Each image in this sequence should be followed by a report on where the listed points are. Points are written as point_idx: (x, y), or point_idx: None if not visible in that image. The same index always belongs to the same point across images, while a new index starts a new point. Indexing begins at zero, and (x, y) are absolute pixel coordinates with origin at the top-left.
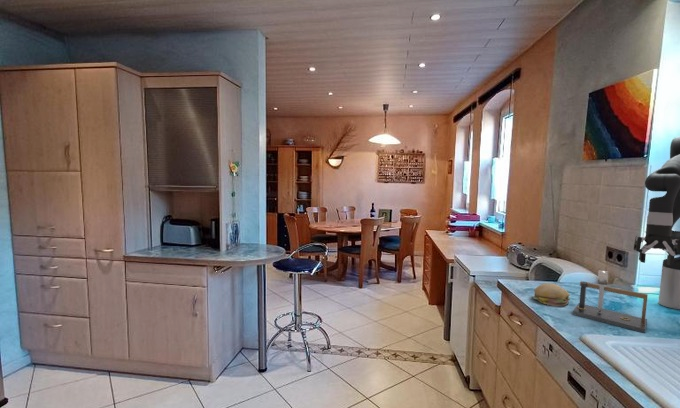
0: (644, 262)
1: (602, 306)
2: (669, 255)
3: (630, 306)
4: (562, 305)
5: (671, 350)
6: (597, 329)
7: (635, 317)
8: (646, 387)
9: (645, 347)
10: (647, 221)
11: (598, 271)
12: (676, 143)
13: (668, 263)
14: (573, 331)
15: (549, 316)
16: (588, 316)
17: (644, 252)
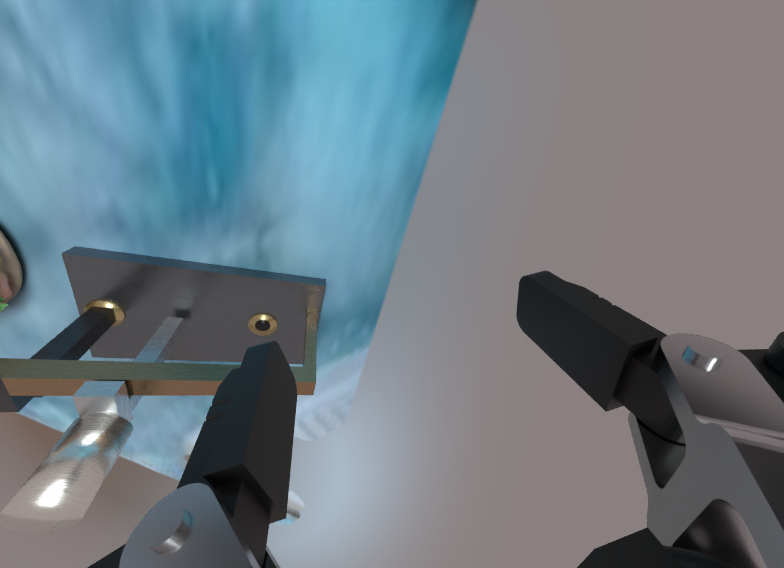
0: (293, 386)
1: (175, 334)
2: (627, 376)
3: (283, 85)
4: (15, 294)
5: (347, 402)
6: (205, 401)
7: (292, 292)
8: (294, 505)
9: (304, 419)
10: None
11: (9, 521)
12: None
13: (527, 309)
14: (158, 441)
15: (51, 403)
16: None
17: (259, 562)
